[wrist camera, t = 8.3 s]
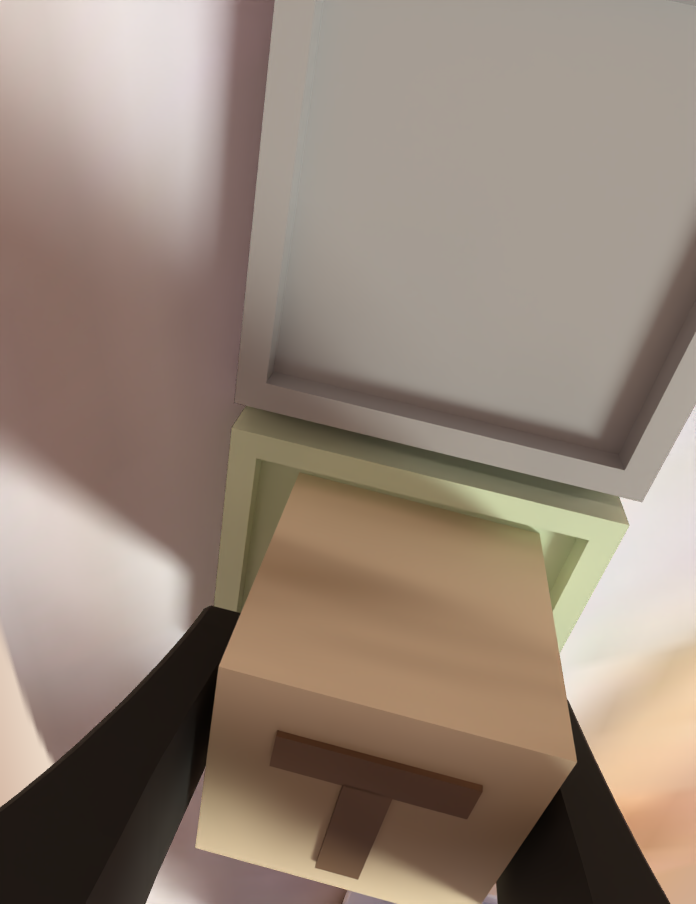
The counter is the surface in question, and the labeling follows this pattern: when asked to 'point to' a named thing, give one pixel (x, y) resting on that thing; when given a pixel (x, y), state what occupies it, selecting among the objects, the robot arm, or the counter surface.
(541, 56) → the middle dish
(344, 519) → the letter block
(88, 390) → the counter surface
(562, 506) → the green dish
